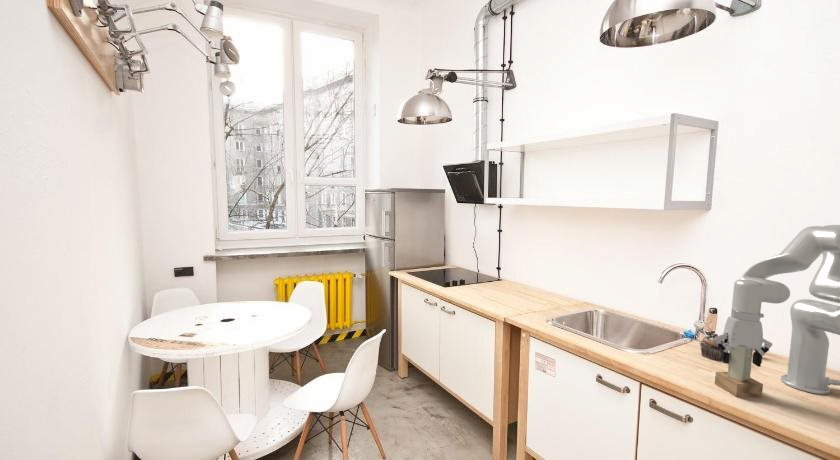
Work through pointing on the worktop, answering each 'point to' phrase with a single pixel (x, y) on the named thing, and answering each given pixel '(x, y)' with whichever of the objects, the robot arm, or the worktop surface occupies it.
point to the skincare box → (740, 363)
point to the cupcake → (710, 348)
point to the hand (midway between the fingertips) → (740, 363)
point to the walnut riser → (738, 386)
